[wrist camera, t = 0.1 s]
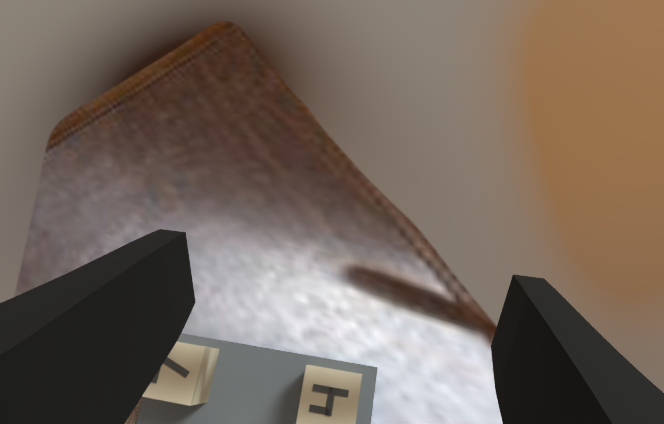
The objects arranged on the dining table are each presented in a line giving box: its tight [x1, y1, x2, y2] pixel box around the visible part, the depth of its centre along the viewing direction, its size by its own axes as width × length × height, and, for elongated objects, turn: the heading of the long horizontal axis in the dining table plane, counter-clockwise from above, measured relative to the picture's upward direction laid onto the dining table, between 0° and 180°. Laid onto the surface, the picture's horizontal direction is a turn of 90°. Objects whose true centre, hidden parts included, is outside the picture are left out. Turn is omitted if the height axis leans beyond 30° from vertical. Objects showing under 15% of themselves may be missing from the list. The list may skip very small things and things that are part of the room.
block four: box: [296, 365, 362, 424], centre depth 36 cm, size 4×4×4 cm
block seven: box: [142, 342, 220, 406], centre depth 37 cm, size 4×4×4 cm
